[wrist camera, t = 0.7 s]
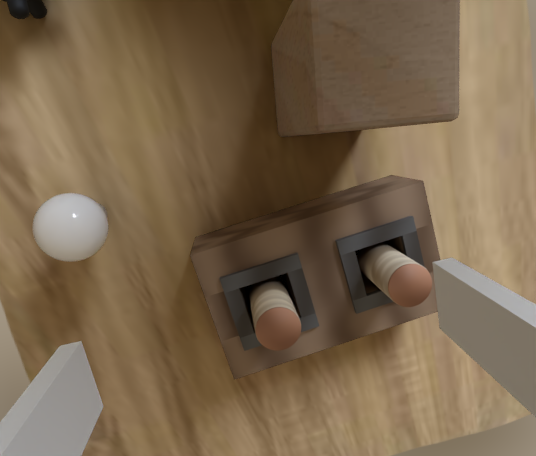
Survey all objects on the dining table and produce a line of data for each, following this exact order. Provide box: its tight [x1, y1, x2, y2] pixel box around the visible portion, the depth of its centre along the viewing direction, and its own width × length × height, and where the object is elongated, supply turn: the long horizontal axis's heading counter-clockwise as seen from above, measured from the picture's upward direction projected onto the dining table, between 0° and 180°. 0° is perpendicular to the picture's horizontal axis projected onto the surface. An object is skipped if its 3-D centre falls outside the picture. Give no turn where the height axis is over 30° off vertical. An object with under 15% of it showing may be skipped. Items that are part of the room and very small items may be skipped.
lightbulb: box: [33, 193, 108, 262], centre depth 41 cm, size 6×6×11 cm
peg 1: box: [249, 277, 301, 351], centre depth 40 cm, size 4×4×8 cm
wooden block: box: [271, 0, 460, 137], centre depth 37 cm, size 10×10×20 cm
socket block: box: [190, 175, 440, 379], centre depth 46 cm, size 24×14×9 cm, turn 107°
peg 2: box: [357, 242, 432, 307], centre depth 40 cm, size 4×4×8 cm
